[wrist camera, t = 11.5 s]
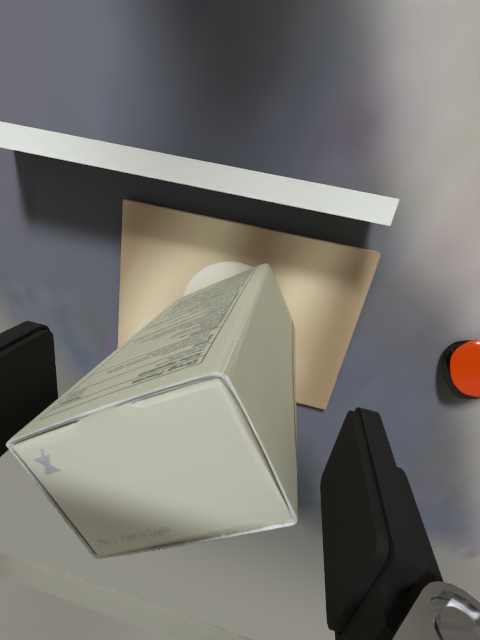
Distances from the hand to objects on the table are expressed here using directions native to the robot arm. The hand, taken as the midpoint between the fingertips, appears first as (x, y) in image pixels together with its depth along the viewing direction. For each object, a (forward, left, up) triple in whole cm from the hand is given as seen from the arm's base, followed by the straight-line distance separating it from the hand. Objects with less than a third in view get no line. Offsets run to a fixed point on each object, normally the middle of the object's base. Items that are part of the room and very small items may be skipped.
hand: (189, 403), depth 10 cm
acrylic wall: (+4, -6, -10) cm, 13 cm away
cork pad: (0, +1, -10) cm, 10 cm away
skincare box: (0, 0, -10) cm, 10 cm away
